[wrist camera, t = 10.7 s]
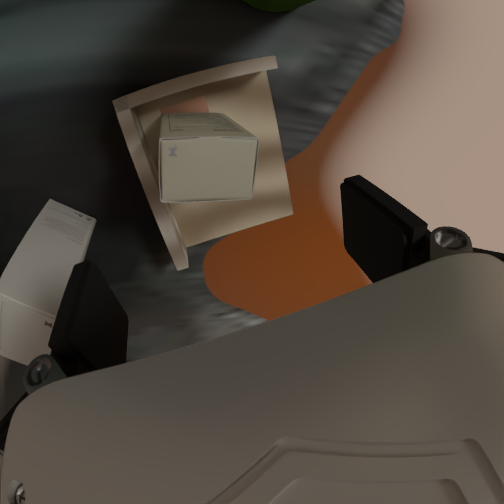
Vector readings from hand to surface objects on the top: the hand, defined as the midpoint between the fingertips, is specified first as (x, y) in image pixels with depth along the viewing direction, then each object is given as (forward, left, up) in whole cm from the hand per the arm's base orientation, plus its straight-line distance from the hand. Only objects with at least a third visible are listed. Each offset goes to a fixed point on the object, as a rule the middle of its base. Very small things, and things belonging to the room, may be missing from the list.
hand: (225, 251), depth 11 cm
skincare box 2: (0, 0, -22) cm, 22 cm away
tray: (-3, -2, -22) cm, 22 cm away
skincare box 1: (-6, +17, -22) cm, 29 cm away
